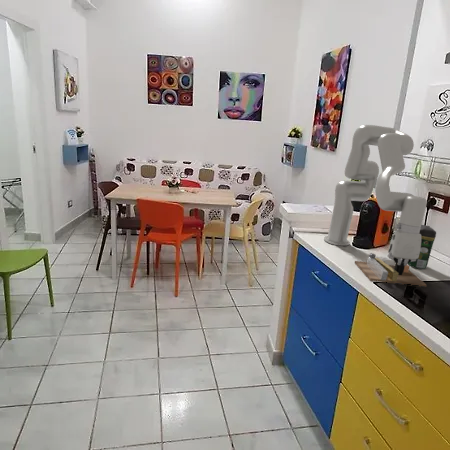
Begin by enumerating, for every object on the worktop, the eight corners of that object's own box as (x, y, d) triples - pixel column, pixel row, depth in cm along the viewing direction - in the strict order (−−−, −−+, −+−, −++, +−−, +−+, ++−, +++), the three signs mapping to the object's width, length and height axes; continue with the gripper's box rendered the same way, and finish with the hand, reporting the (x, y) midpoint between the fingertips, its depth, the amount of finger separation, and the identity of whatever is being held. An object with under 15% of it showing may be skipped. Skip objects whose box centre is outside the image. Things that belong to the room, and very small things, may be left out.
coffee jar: (404, 260, 164) (414, 222, 159) (422, 263, 162) (433, 225, 157) (408, 267, 155) (419, 227, 150) (427, 271, 153) (439, 230, 148)
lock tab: (396, 270, 147) (398, 262, 146) (404, 271, 147) (406, 263, 146) (400, 273, 144) (402, 265, 143) (407, 274, 144) (409, 266, 143)
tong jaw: (372, 265, 149) (374, 257, 148) (377, 265, 150) (378, 258, 149) (391, 281, 135) (393, 272, 134) (396, 281, 135) (398, 273, 134)
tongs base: (364, 262, 152) (366, 252, 151) (372, 263, 152) (374, 253, 151) (380, 280, 135) (383, 269, 134) (389, 281, 135) (392, 270, 134)
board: (354, 262, 153) (355, 258, 152) (404, 268, 153) (405, 264, 153) (369, 280, 136) (370, 275, 135) (426, 287, 136) (427, 282, 135)
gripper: (393, 229, 129) (383, 275, 134) (433, 233, 130) (421, 279, 134) (385, 224, 137) (375, 268, 141) (422, 228, 137) (411, 272, 141)
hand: (397, 273), depth 137 cm, fingers closed
